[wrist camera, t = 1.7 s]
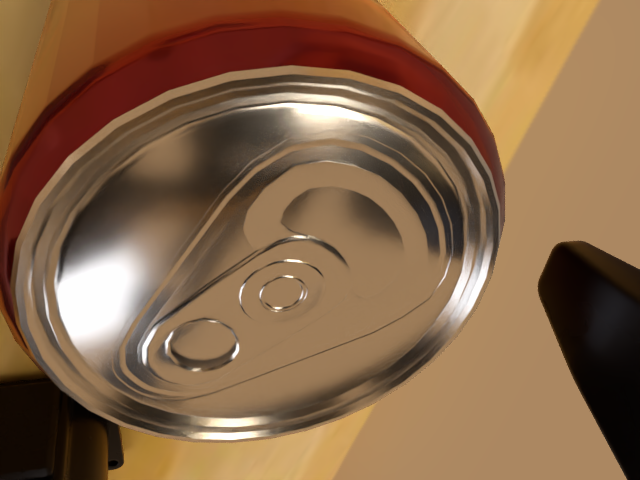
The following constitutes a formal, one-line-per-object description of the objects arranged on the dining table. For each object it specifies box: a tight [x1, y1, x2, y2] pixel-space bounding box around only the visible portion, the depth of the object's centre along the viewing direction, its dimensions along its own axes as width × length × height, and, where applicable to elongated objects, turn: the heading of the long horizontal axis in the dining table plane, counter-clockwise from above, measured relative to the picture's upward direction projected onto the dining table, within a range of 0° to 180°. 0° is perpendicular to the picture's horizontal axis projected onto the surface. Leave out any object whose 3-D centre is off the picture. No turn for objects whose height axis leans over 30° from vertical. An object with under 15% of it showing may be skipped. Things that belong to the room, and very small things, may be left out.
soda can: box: [0, 0, 505, 443], centre depth 13 cm, size 7×7×12 cm
